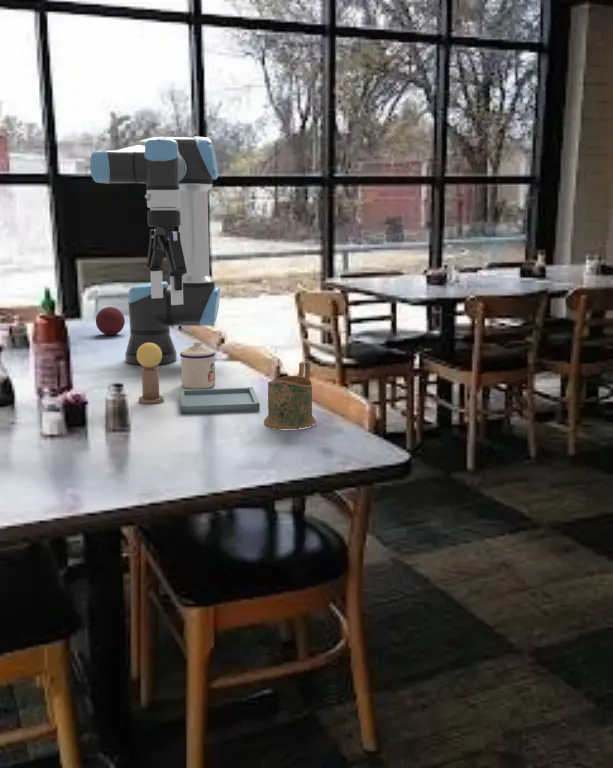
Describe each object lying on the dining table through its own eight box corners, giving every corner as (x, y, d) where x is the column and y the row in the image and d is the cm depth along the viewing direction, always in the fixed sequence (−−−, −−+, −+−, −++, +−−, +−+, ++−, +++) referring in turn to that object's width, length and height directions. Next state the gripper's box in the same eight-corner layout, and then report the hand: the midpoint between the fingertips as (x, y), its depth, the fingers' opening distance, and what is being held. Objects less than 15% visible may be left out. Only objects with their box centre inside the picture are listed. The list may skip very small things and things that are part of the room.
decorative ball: (121, 337, 277) (120, 309, 275) (93, 337, 278) (91, 308, 275) (128, 332, 287) (126, 305, 285) (100, 332, 287) (99, 305, 285)
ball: (137, 365, 193) (136, 340, 192) (162, 364, 194) (161, 340, 193) (136, 370, 188) (135, 345, 186) (162, 369, 189) (161, 344, 187)
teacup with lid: (215, 389, 205) (214, 344, 202) (180, 390, 204) (178, 345, 201) (216, 378, 217) (215, 336, 214) (182, 379, 216) (180, 337, 213)
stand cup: (139, 398, 195) (137, 363, 193) (163, 397, 196) (162, 362, 194) (138, 404, 190) (136, 368, 188) (163, 403, 191) (162, 367, 189)
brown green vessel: (331, 411, 184) (331, 361, 182) (306, 432, 168) (306, 377, 165) (284, 407, 188) (284, 357, 185) (255, 427, 172) (255, 373, 169)
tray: (180, 396, 197) (180, 389, 197) (252, 394, 200) (252, 387, 199) (181, 414, 182) (181, 406, 181) (259, 410, 185) (259, 403, 184)
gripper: (131, 208, 192) (135, 296, 197) (166, 210, 171) (170, 308, 175) (160, 208, 195) (164, 294, 200) (199, 210, 174) (202, 306, 179)
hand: (167, 301), depth 188 cm, fingers open, 13 cm apart
